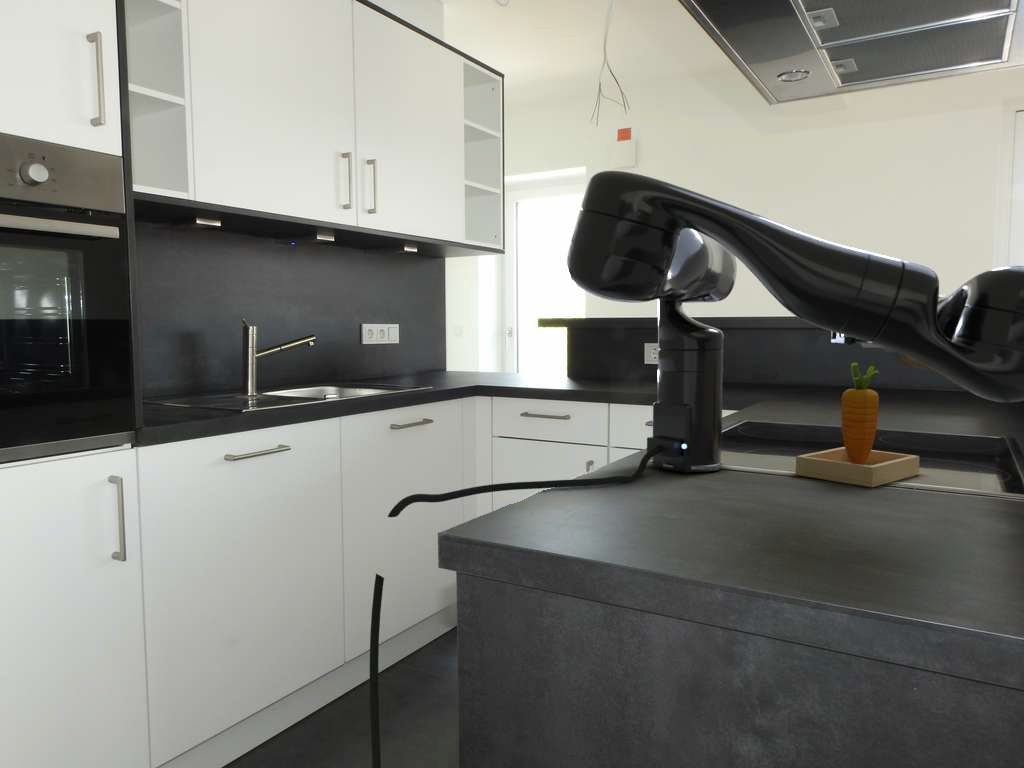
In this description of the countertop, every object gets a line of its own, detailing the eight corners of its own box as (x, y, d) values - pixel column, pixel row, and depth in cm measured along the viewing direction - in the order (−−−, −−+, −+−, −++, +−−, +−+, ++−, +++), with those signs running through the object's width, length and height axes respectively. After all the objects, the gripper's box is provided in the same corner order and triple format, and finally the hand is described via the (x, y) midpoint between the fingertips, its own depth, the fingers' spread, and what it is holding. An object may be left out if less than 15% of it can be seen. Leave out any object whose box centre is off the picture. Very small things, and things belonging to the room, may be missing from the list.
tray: (872, 487, 92) (873, 467, 91) (795, 474, 100) (795, 456, 100) (918, 474, 100) (919, 455, 100) (844, 463, 108) (844, 446, 108)
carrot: (868, 467, 102) (872, 361, 101) (883, 474, 97) (888, 363, 96) (832, 466, 102) (836, 361, 101) (845, 473, 97) (849, 363, 96)
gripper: (855, 369, 75) (821, 362, 90) (1008, 370, 72) (945, 362, 88) (857, 296, 74) (823, 302, 90) (1012, 294, 71) (948, 301, 87)
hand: (883, 332), depth 89 cm, fingers open, 8 cm apart
